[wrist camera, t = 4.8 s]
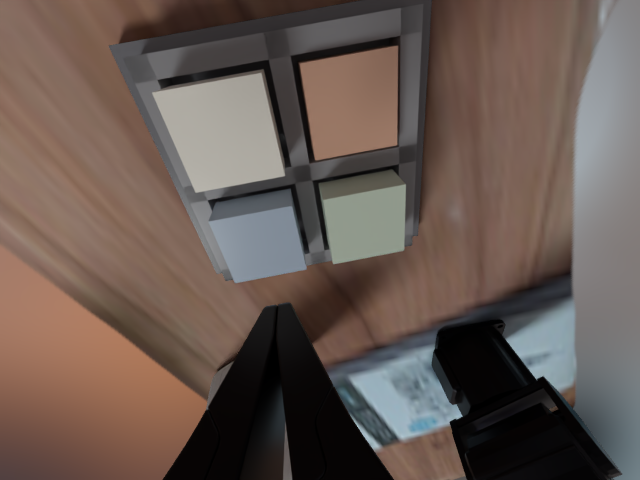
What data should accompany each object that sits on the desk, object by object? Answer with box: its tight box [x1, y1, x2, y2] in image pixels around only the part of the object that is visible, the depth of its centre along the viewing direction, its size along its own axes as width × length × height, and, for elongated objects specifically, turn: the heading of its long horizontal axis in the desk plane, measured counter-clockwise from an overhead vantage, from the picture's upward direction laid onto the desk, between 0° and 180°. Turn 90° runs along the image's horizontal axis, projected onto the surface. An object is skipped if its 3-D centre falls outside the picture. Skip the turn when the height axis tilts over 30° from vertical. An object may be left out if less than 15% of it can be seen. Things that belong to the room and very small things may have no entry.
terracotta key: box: [297, 46, 398, 160], centre depth 13 cm, size 4×4×2 cm
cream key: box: [152, 69, 285, 193], centre depth 12 cm, size 4×4×2 cm
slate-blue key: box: [208, 188, 307, 283], centre depth 15 cm, size 4×4×2 cm
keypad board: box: [109, 0, 432, 281], centre depth 16 cm, size 14×13×2 cm
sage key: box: [318, 169, 406, 264], centre depth 15 cm, size 4×4×2 cm
